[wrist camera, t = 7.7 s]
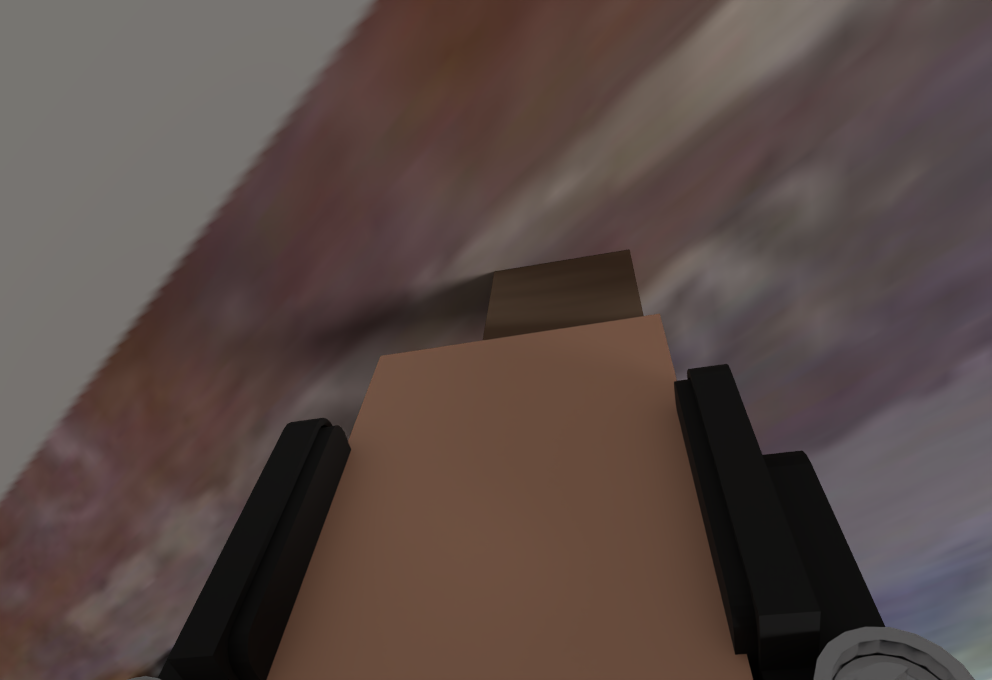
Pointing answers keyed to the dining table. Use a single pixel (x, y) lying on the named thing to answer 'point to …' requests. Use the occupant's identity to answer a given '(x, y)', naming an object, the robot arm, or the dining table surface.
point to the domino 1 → (562, 295)
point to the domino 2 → (516, 522)
